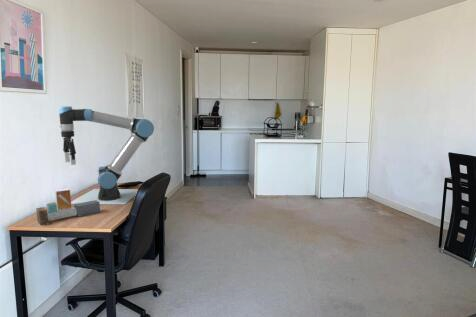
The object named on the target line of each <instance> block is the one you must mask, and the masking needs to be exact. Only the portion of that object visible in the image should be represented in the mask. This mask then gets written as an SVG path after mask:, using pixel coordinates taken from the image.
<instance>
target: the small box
mask: <svg viewBox="0 0 476 317" xmlns="http://www.w3.org/2000/svg"><path fill="white" fill-rule="evenodd" d="M54 195H55V203H56V204H57V210H60V209H65V208H70V207H72V198H71V197H72V196H71V189H70V188H69V187H67V188H66V187H65V188H59V189H54Z"/></svg>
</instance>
